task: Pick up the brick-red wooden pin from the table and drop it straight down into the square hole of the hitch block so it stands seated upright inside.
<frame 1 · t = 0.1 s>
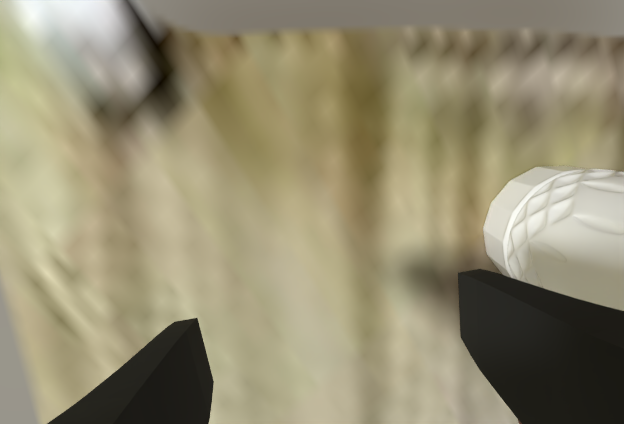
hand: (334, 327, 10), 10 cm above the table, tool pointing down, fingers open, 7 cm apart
white cup: (537, 223, 22), on the table
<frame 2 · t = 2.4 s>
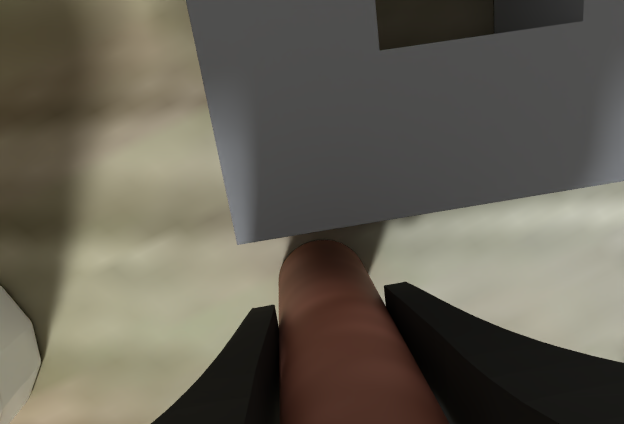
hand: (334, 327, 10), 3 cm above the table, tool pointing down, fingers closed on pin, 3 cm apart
pin: (322, 280, 13), on the table, touching gripper
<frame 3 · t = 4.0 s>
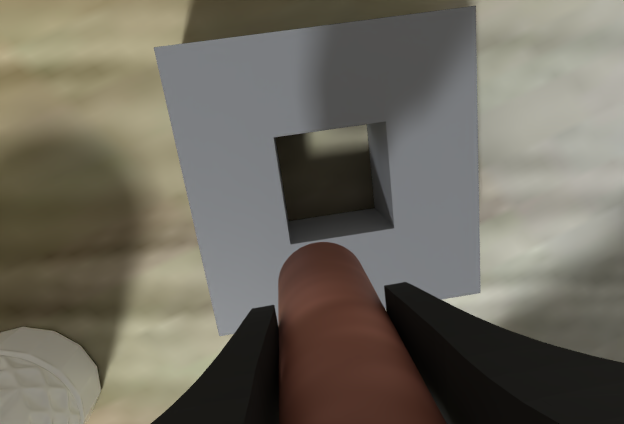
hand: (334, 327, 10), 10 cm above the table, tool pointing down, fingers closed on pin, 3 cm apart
pin: (321, 282, 13), point 7 cm above the table, touching gripper
hitch block: (326, 171, 19), on the table
white cup: (39, 377, 21), on the table
when the fingers open (4 cm above the table, at t = 5.9 s): pin drops 1 cm, resting in hitch block.
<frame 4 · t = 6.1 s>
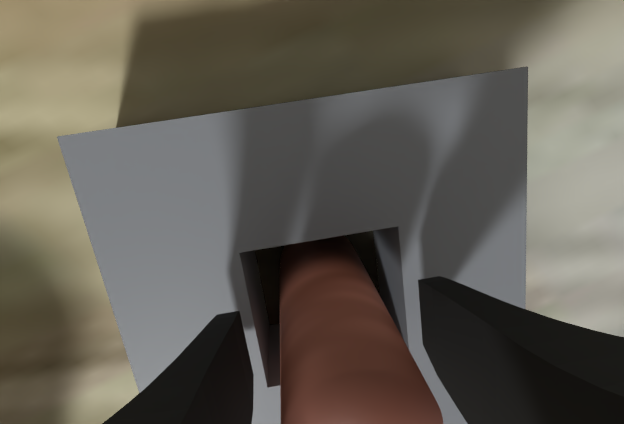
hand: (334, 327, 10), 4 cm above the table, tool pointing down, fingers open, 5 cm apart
pin: (318, 264, 15), resting in hitch block
hitch block: (317, 264, 15), on the table
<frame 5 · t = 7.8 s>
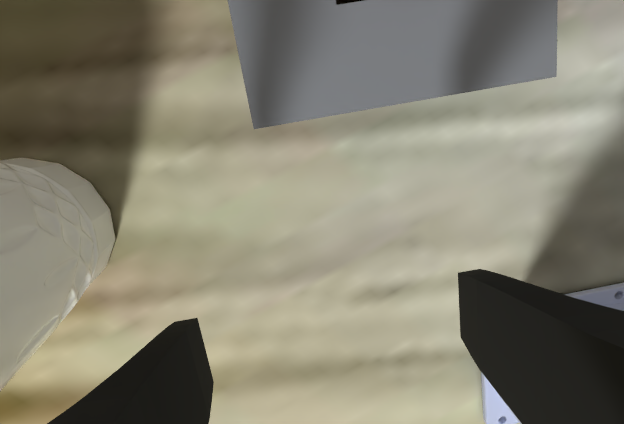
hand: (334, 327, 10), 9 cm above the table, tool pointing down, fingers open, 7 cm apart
white cup: (45, 226, 18), on the table
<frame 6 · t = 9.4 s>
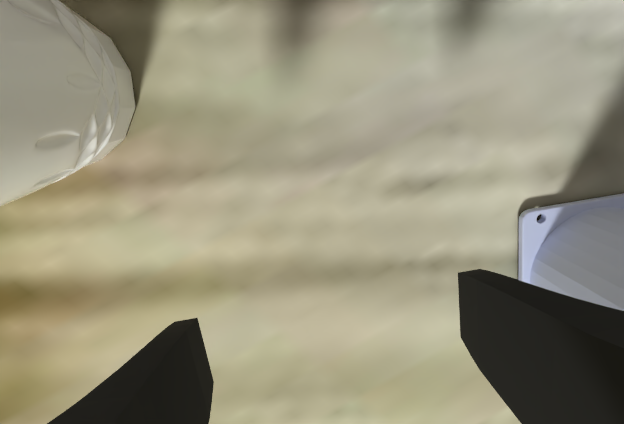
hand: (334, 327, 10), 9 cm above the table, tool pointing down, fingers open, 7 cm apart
white cup: (60, 91, 17), on the table
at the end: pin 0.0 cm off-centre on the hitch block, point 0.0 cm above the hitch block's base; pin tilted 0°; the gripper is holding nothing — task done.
